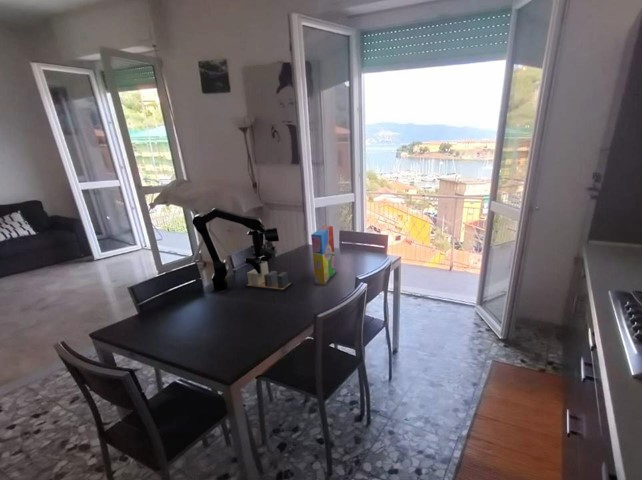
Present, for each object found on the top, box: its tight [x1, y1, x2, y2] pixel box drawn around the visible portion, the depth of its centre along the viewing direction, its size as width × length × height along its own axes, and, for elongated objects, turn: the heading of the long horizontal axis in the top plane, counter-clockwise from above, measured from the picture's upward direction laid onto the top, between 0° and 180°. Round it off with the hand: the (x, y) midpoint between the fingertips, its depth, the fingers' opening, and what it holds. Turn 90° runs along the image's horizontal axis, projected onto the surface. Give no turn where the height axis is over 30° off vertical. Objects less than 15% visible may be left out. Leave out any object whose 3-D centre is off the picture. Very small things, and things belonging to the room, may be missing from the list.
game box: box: [310, 225, 337, 286], centre depth 192 cm, size 21×6×27 cm, turn 168°
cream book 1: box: [246, 268, 256, 285], centre depth 190 cm, size 6×3×6 cm, turn 163°
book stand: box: [246, 275, 292, 290], centre depth 188 cm, size 9×22×6 cm, turn 73°
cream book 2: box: [257, 260, 270, 277], centre depth 186 cm, size 6×3×6 cm, turn 163°
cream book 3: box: [252, 271, 265, 285], centre depth 189 cm, size 6×3×6 cm, turn 163°
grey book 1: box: [265, 270, 278, 287], centre depth 187 cm, size 6×3×6 cm, turn 163°
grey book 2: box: [277, 271, 290, 289], centre depth 185 cm, size 6×3×6 cm, turn 163°
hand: (262, 271), depth 186 cm, fingers closed on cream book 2, 6 cm apart
